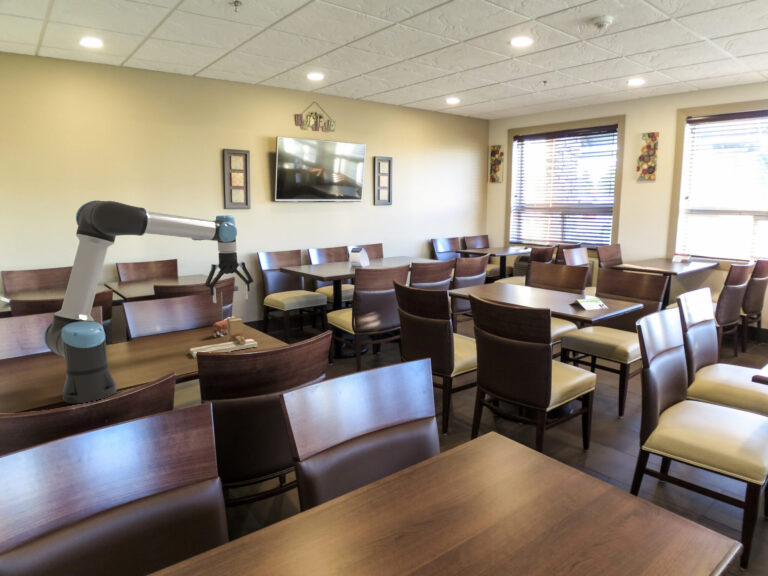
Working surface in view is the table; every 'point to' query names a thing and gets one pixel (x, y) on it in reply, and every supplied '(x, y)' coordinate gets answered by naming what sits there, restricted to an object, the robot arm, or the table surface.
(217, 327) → the bull figurine
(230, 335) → the tan boxy piece
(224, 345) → the board
